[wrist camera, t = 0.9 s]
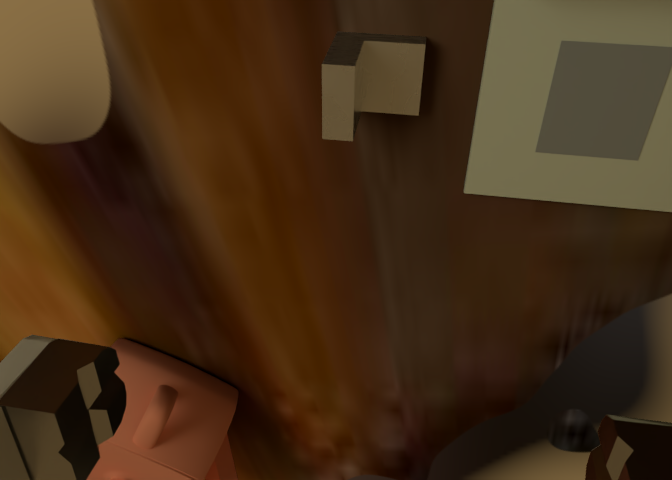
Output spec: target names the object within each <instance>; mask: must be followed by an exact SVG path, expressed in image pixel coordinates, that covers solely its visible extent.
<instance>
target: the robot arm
mask: <svg viewBox="0 0 672 480" xmlns="http://www.w3.org/2000/svg"><path fill="white" fill-rule="evenodd" d="M119 365H120V363H119V359H118V356H117V352H116V350H115V349H113V348H110V347H106V346H100V345H94V344H88V343H82V342H76V341H70V340H64V339H54V338H48V337H42V336H36V335H31V336H29V337H26V338H24V339H22V340H21V341H20V342H19V344H18V345H17V346H16V347H15V348H14V349H13V350H12V351H11V352H10V353H9V354H8V355H7V356H6V357H5V358H4V359H3V360H2V361H1V363H0V480H86V479H87V478H88V476H89V475H90V473H91V471H92V470H93V468H94V467H95V465H96V463H97V462H98V460H99V459H100V452H99V445H100V444H101V443H103V442H104V441H106V440H108V439H109V438H111V437H113V436H114V434H115V432H116V431H117V429H118V427H119V426H120V424H121V422H122V419H123V415H124V412H125V409H126V399H127V392H126V388H125V383H124V382H123V381H122V380H121V379H120V378H119V377H118V376H117V375H116V374H115V373H114V372H115V370H116V369H117V368H118V366H119ZM598 434H599V438H600V442H601V445H600V446H598V447H597V448H595V449H593V450H592V451H591V453H590V456H589V459H588V463H587V467H586V478H585V480H672V423H668V422H661V421H653V420H645V419H637V418H629V417H622V416H613V415H606V416H605V418H604V419H603V420H602V422H601V424H600V427H599V430H598Z"/></svg>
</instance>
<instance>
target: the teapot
mask: <svg viewBox="0 0 672 480" xmlns="http://www.w3.org/2000/svg"><path fill="white" fill-rule="evenodd" d="M110 348H113V349H115V350H116V352H117V356H118V359H119V363H120V365H119V366H118V368H117V369H116V370H115V372H114V373H115V374H116V375H117V376H118V377H119V378H120V379H121V380H122V381H123V382H124V383H125V388H126V392H127V399H126V409H125V412H124V415H123V419H122V422H121V424H120V426H119V427H118V429H117V431H116V432H115V434H114V436H113V437H111V438H109V439H108V440H106V441H104V442H103V443H101V444H100V445H99V452H100V459H99V460H98V462H97V463H96V465H95V467H94V468H93V470H92V471H91V473H90V475H89V476H88V478H87V479H86V480H204V479H206V480H238V477H237V473H236V469H235V465H234V460H233V456H232V452H231V448H230V443H229V439H228V435H227V431H228V429H229V426H230V424H231V421H232V418H233V416H234V413H235V410H236V406H237V401H238V394H239V391H238V390H237V389H236V388H234V387H232V386H231V385H229V384H227V383H225V382H223V381H221V380H219V379H217V378H215V377H213V376H211V375H209V374H207V373H205V372H203V371H201V370H199V369H197V368H195V367H193V366H191V365H189V364H187V363H184V362H182V361H180V360H178V359H175V358H173V357H171V356H168V355H166V354H163V353H161V352H158V351H156V350H153V349H151V348H149V347H146V346H144V345H141V344H138V343H136V342H133V341H130V340H127V339H123V338H119V339H118V340H117V341H116V342H115V343H114V344H113V345H112V346H111V347H110Z"/></svg>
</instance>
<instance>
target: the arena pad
mask: <svg viewBox="0 0 672 480" xmlns="http://www.w3.org/2000/svg"><path fill="white" fill-rule="evenodd" d="M464 193H468V194H479V195H490V196H501V197H512V198H523V199H534V200H545V201H556V202H567V203H578V204H589V205H600V206H611V207H622V208H633V209H644V210H655V211H666V212H672V0H494V5H493V11H492V17H491V23H490V29H489V36H488V42H487V48H486V54H485V60H484V67H483V73H482V79H481V85H480V92H479V98H478V104H477V110H476V116H475V123H474V129H473V135H472V141H471V147H470V154H469V160H468V166H467V172H466V178H465V185H464Z"/></svg>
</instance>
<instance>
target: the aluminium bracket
mask: <svg viewBox="0 0 672 480" xmlns="http://www.w3.org/2000/svg"><path fill="white" fill-rule="evenodd" d="M425 47H426V37H421V36H404V35H388V34H371V33H355V32H338V31H337V34H336V36H335V38H334V40H333V42H332V44H331V46H330V48H329V50H328V52H327V54H326V57H325V59H324V61H323V63H322V139H331V140H344V141H353V139H354V136H355V132H356V129H357V125H358V122H359V119H360V115H361V112H362V111H365V112H378V113H391V114H404V115H417V116H419V108H420V98H421V87H422V77H423V67H424V57H425Z"/></svg>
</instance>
